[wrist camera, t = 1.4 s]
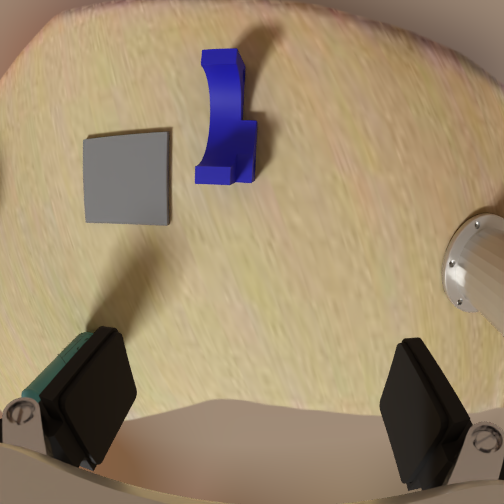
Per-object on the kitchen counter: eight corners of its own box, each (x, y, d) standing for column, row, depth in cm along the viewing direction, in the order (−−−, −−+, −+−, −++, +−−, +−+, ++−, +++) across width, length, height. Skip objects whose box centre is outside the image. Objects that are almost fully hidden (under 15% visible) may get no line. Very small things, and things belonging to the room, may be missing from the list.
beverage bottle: (80, 348, 40) (5, 432, 21) (83, 316, 38) (-6, 402, 19) (115, 369, 41) (48, 464, 22) (121, 338, 38) (41, 439, 20)
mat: (169, 132, 30) (167, 131, 29) (169, 224, 33) (167, 225, 32) (86, 139, 31) (83, 139, 30) (88, 221, 34) (85, 222, 33)
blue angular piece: (254, 180, 31) (247, 186, 25) (211, 178, 31) (194, 183, 25) (260, 67, 27) (254, 48, 21) (216, 67, 28) (202, 49, 22)
